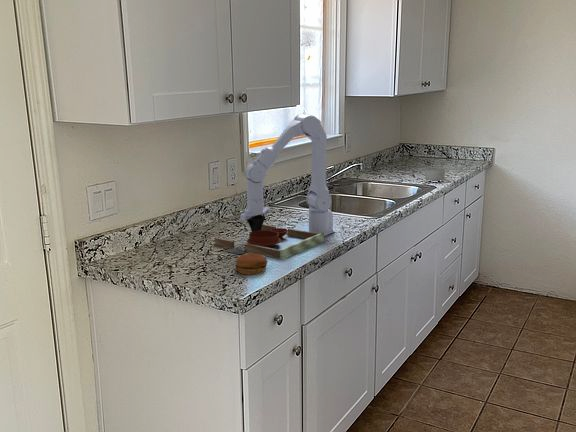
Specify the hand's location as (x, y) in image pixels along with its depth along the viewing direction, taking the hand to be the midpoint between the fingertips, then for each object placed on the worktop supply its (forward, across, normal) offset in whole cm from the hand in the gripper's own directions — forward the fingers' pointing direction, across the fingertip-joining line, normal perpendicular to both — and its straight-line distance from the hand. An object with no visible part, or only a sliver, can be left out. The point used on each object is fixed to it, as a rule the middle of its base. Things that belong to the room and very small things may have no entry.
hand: (256, 236), depth 203 cm
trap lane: (+2, 0, +6) cm, 6 cm away
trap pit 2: (+2, -14, +3) cm, 15 cm away
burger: (+2, +26, +19) cm, 32 cm away
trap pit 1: (+2, +14, +3) cm, 15 cm away
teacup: (+2, -150, +8) cm, 150 cm away
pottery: (+2, 0, +6) cm, 6 cm away
